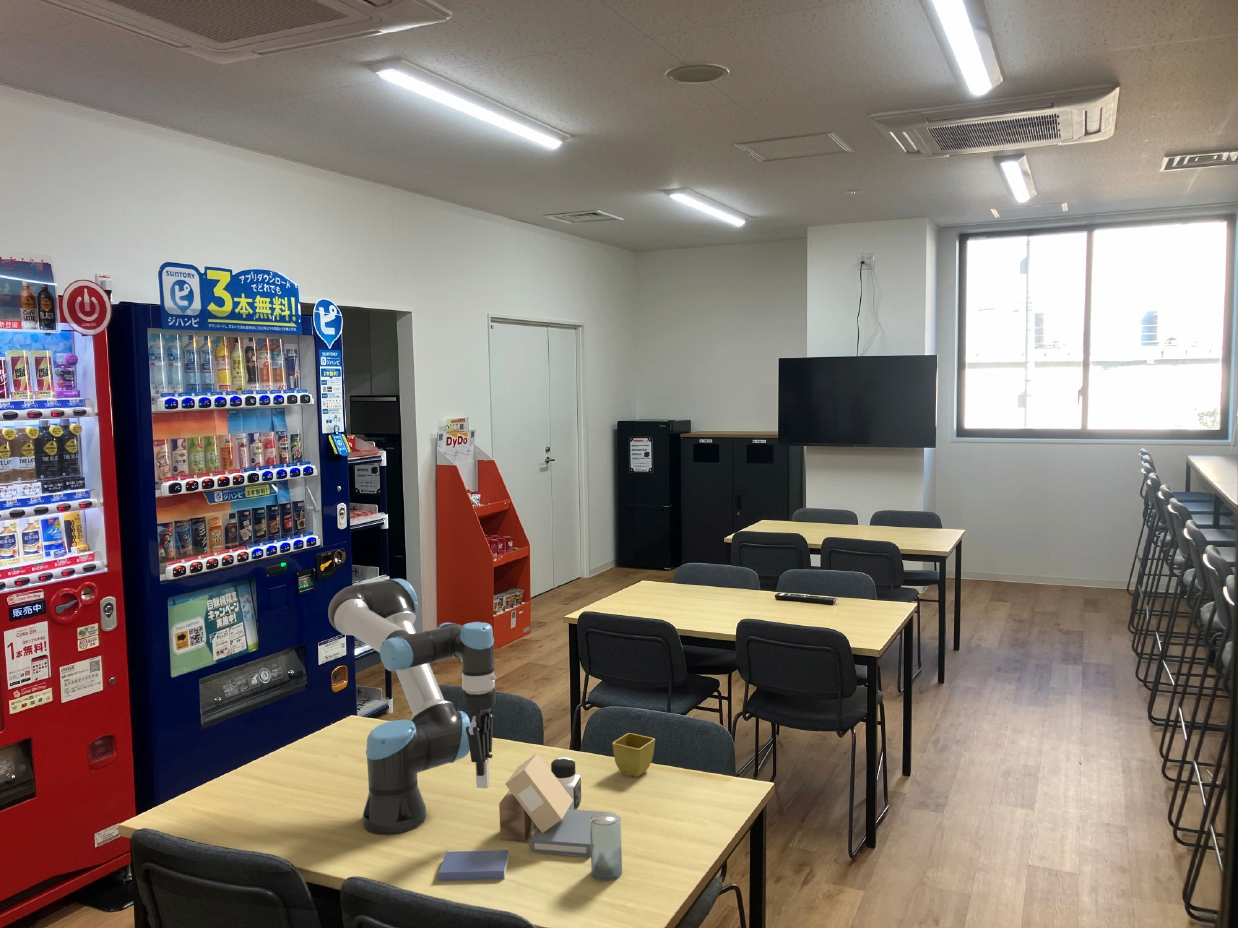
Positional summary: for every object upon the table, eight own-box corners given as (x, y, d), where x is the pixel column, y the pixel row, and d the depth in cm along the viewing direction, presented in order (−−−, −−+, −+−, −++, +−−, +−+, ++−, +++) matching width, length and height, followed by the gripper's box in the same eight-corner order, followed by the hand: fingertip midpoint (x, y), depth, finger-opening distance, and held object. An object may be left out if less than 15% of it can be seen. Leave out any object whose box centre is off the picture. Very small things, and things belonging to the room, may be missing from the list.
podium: (530, 852, 207) (530, 839, 207) (550, 819, 223) (550, 807, 223) (590, 857, 204) (590, 844, 204) (606, 823, 220) (606, 811, 220)
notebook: (438, 883, 197) (438, 872, 196) (446, 861, 205) (446, 851, 205) (504, 881, 197) (504, 870, 196) (509, 859, 206) (508, 849, 205)
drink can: (588, 879, 195) (586, 823, 194) (595, 863, 202) (593, 809, 201) (618, 882, 194) (617, 825, 193) (624, 866, 200) (623, 811, 199)
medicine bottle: (574, 814, 226) (573, 766, 225) (546, 812, 227) (545, 765, 226) (581, 801, 233) (580, 755, 232) (554, 799, 234) (553, 754, 233)
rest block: (500, 840, 213) (499, 803, 213) (511, 824, 221) (510, 788, 220) (525, 842, 212) (523, 804, 211) (535, 826, 220) (534, 790, 219)
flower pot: (656, 770, 251) (655, 737, 250) (640, 781, 243) (639, 748, 243) (629, 763, 256) (628, 732, 255) (612, 775, 248) (611, 742, 247)
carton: (542, 833, 210) (504, 783, 211) (554, 813, 220) (518, 766, 221) (561, 819, 209) (524, 769, 209) (573, 799, 218) (537, 752, 219)
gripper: (484, 699, 209) (488, 799, 210) (503, 681, 221) (507, 776, 223) (453, 697, 210) (457, 797, 212) (474, 680, 223) (477, 774, 225)
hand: (483, 786), depth 218 cm, fingers closed
